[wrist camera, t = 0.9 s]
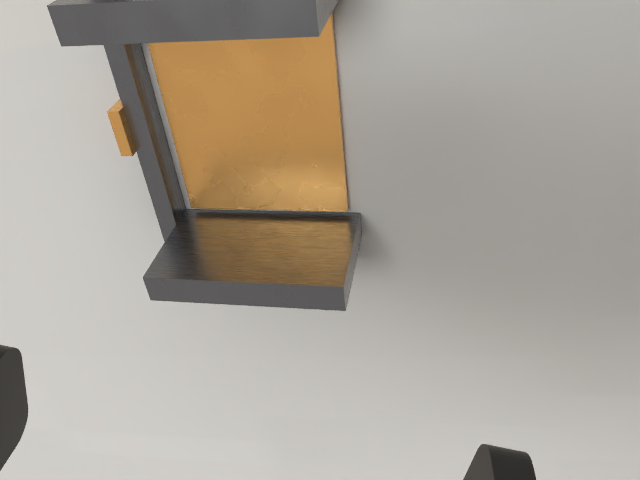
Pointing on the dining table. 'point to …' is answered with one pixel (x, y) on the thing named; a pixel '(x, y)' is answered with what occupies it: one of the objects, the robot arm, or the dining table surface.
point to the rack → (233, 143)
